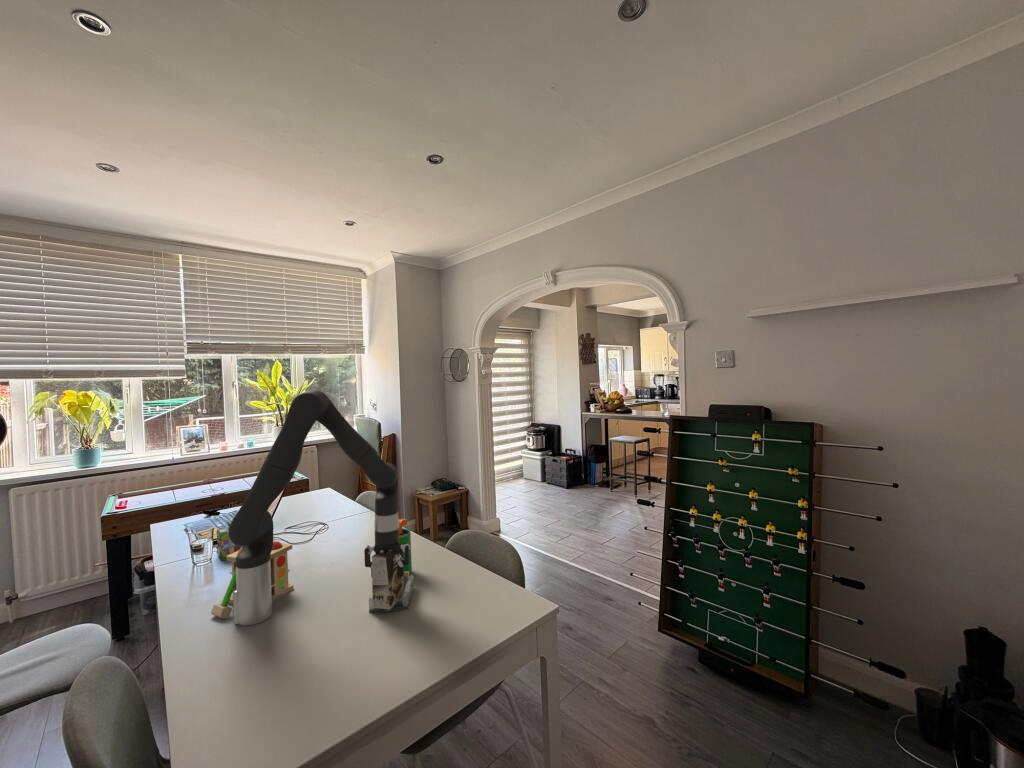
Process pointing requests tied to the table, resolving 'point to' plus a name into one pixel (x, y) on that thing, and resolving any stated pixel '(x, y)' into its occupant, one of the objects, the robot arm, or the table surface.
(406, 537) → the motor
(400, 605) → the grey open tray
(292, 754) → the table surface
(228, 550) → the chalk box
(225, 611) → the pounding bench toy
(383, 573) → the coffee box
